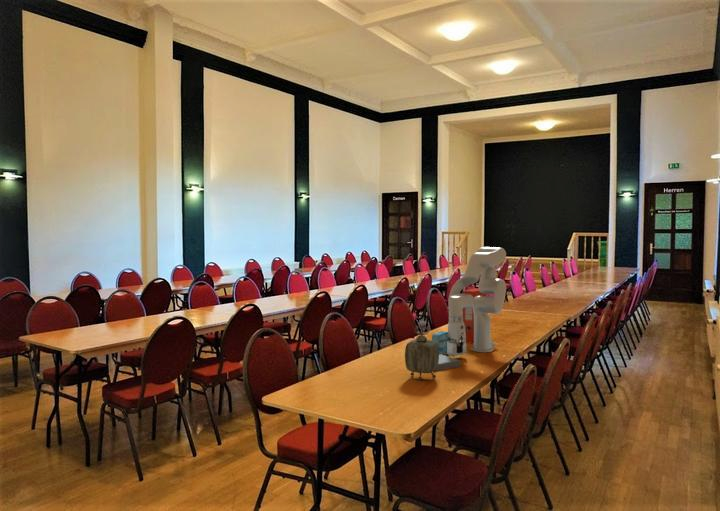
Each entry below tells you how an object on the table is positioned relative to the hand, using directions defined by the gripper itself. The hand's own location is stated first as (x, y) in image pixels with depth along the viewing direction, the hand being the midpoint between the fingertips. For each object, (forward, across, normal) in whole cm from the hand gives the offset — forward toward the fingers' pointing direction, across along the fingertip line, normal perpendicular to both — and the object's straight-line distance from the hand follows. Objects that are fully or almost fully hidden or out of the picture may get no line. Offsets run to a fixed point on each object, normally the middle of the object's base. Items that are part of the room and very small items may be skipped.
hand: (456, 351), depth 284 cm
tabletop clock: (+2, -22, +39) cm, 45 cm away
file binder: (+6, +31, -39) cm, 50 cm away
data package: (+4, +13, +1) cm, 13 cm away
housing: (+2, 0, 0) cm, 2 cm away
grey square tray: (+3, -6, +17) cm, 19 cm away
